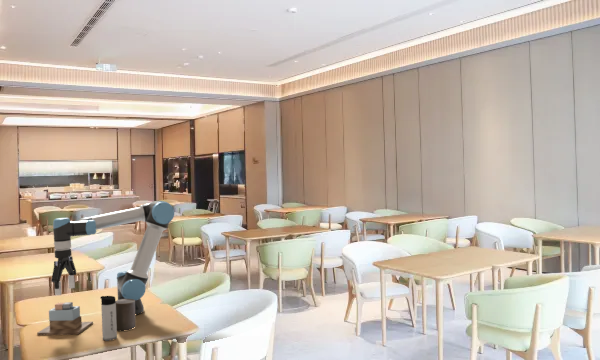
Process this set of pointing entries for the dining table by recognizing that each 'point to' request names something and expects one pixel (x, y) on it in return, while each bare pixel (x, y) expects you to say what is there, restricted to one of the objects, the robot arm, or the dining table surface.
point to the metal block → (67, 306)
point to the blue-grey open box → (64, 314)
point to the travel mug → (109, 318)
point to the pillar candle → (125, 314)
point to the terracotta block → (58, 306)
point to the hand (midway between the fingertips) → (65, 291)
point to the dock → (64, 331)
